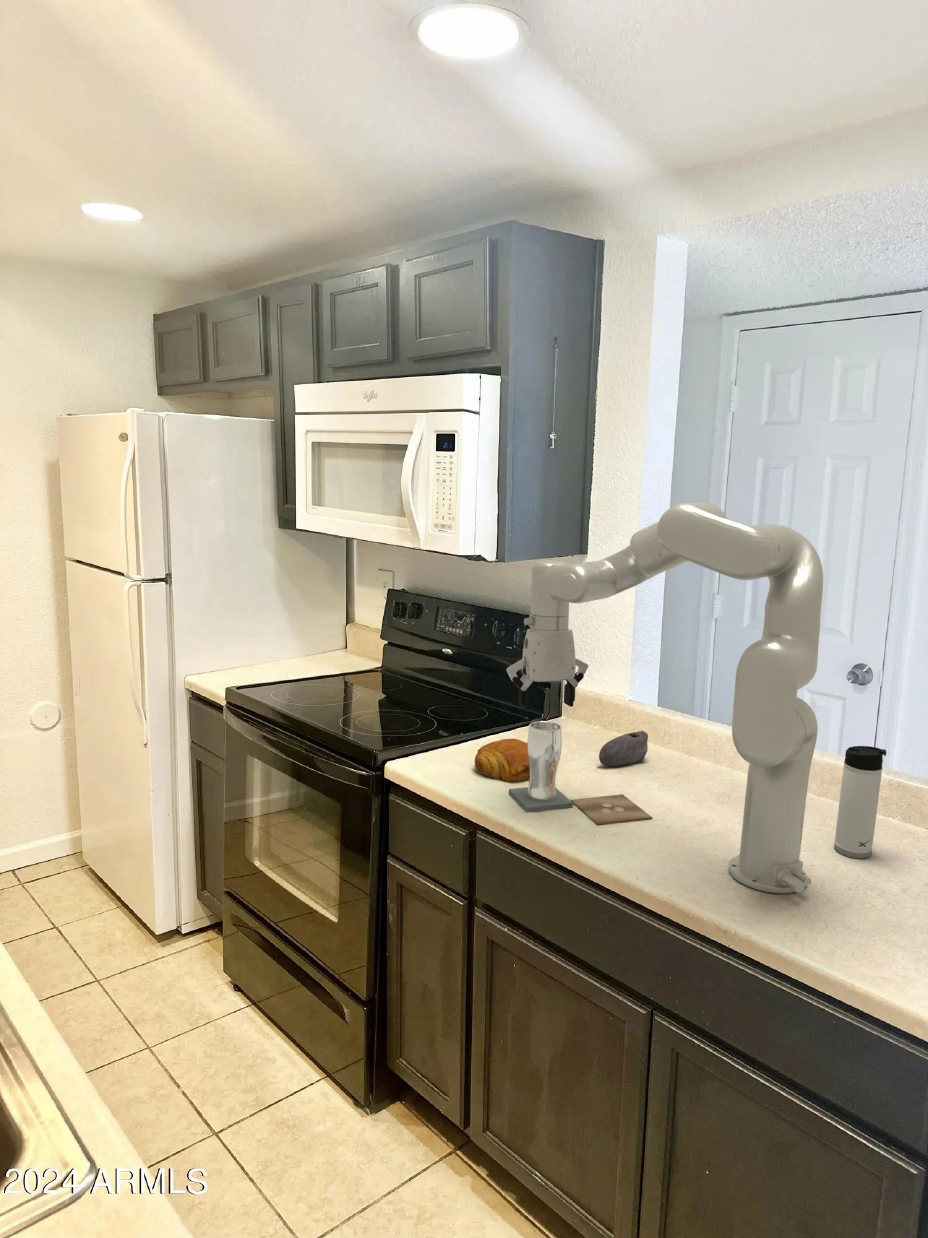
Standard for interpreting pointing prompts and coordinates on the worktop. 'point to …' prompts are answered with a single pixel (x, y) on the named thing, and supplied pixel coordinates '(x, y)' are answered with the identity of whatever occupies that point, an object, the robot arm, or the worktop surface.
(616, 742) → the perforated stone tool
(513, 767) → the croissant
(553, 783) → the beer glass
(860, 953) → the worktop surface
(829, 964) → the worktop surface
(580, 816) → the worktop surface
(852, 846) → the travel mug
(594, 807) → the dot tile
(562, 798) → the rubber mat
